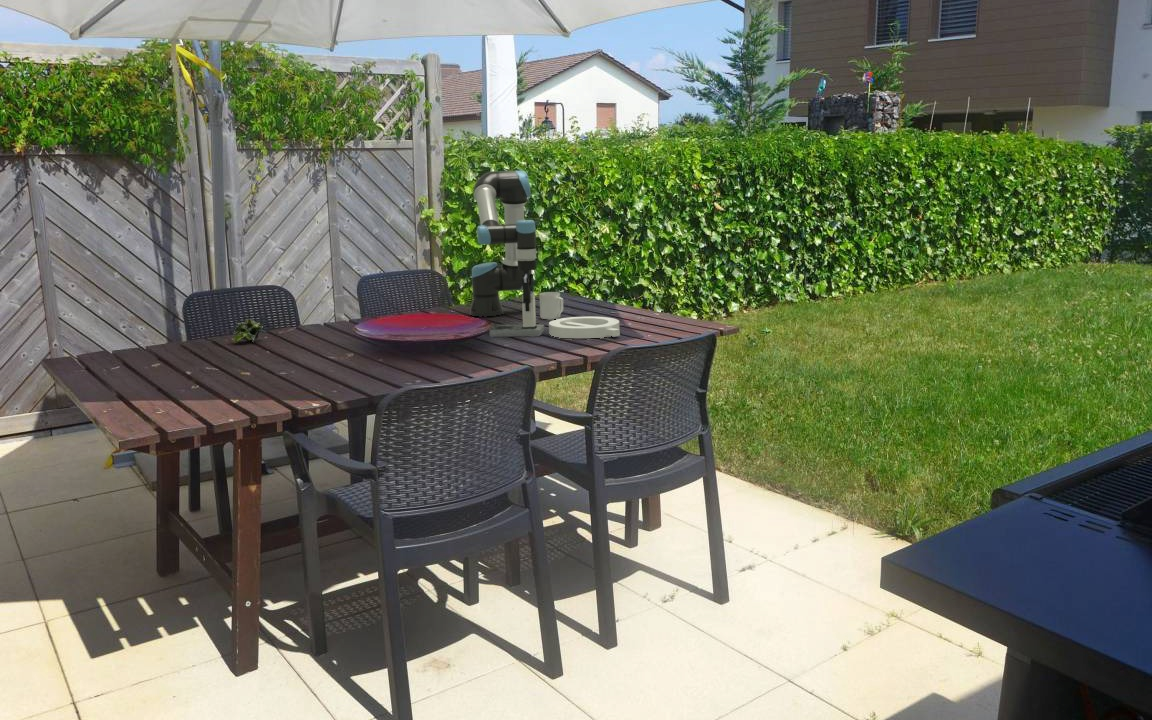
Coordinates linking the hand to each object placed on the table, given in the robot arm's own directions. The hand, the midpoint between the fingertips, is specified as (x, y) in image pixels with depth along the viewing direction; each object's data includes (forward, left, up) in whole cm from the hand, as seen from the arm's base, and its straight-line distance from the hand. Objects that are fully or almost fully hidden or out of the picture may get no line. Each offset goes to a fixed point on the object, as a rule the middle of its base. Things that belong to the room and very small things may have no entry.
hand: (529, 318), depth 373 cm
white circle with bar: (0, +22, -7) cm, 23 cm away
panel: (0, -5, -6) cm, 8 cm away
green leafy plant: (+15, -110, -6) cm, 111 cm away
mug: (-35, +5, -6) cm, 36 cm away
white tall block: (0, 0, -3) cm, 3 cm away
